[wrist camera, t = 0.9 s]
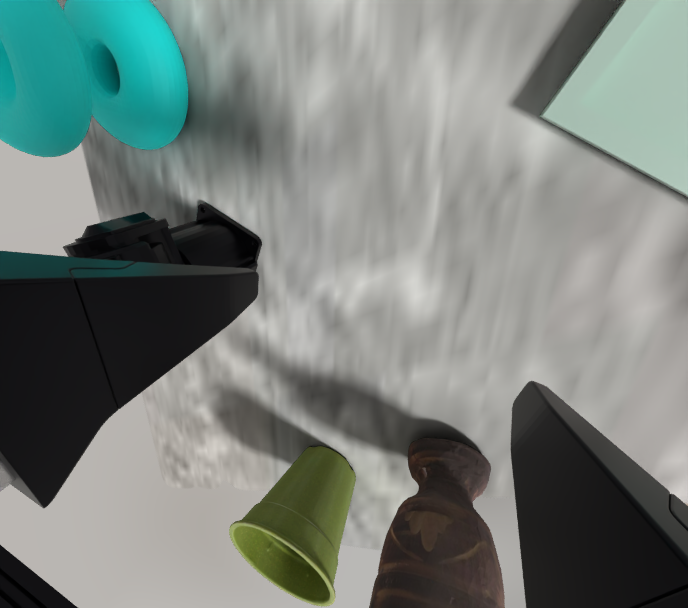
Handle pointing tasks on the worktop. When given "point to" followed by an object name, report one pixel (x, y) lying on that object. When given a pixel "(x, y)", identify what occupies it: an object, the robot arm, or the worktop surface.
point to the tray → (633, 91)
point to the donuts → (88, 74)
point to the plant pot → (300, 526)
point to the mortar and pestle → (440, 535)
